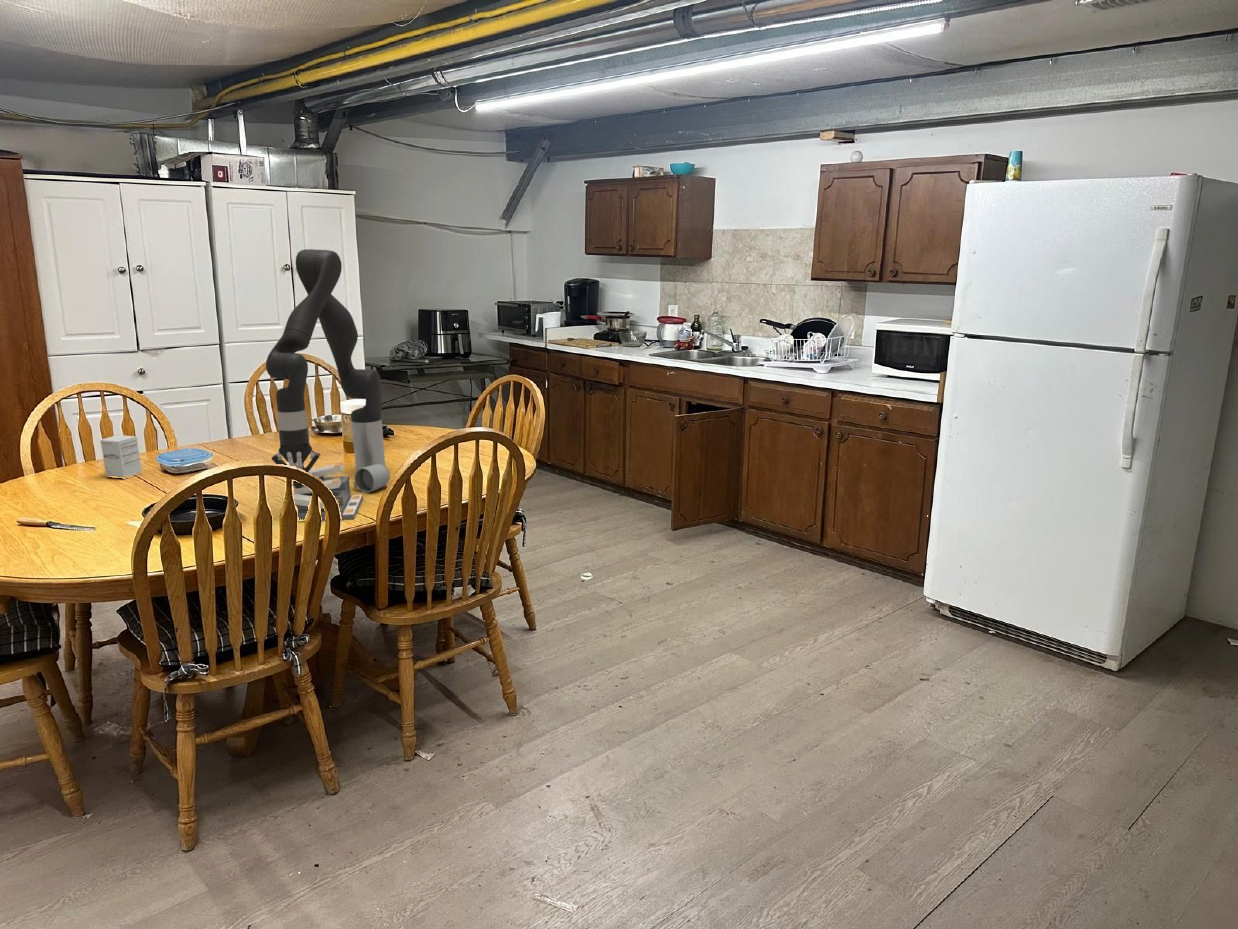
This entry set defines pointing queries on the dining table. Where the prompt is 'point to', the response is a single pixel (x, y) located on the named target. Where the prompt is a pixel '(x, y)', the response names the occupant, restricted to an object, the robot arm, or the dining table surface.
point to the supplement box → (121, 456)
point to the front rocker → (305, 500)
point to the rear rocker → (327, 470)
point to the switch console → (346, 500)
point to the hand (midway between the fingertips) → (299, 487)
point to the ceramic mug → (371, 478)
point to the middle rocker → (329, 483)
